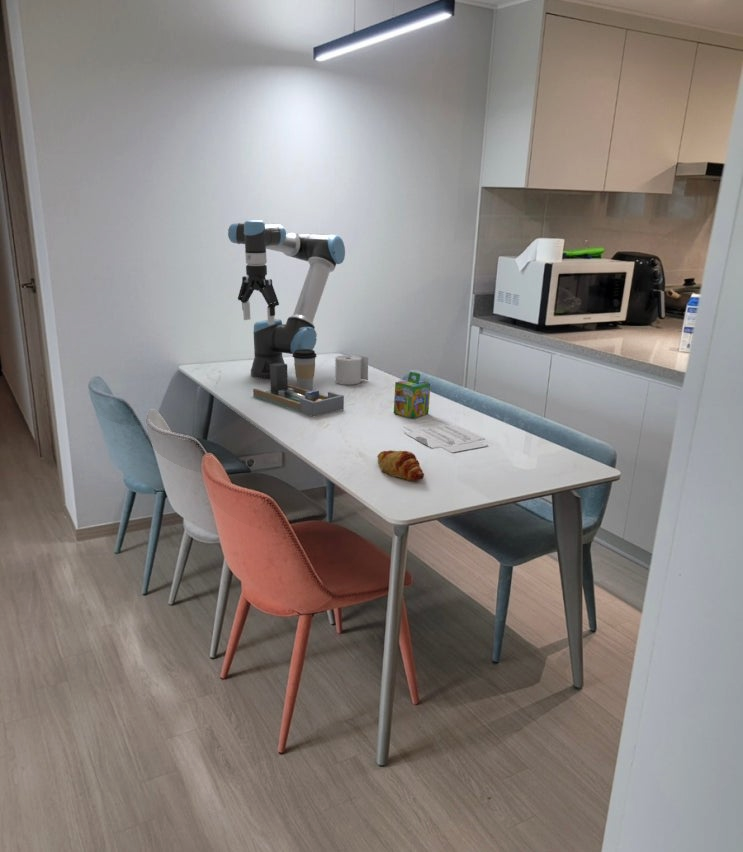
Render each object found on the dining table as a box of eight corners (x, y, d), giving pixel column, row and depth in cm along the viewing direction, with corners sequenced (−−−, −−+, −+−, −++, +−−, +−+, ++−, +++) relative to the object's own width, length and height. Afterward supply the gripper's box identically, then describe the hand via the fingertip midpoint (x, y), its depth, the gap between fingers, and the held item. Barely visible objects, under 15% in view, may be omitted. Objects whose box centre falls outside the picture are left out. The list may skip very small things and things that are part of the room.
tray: (445, 422, 244) (445, 412, 243) (496, 450, 222) (497, 438, 220) (394, 430, 235) (394, 420, 234) (442, 460, 212) (443, 449, 211)
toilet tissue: (329, 381, 293) (330, 357, 290) (351, 376, 300) (352, 353, 297) (346, 386, 285) (347, 361, 282) (368, 381, 293) (369, 357, 290)
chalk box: (392, 413, 251) (394, 372, 246) (409, 408, 257) (411, 368, 252) (413, 419, 245) (414, 377, 240) (429, 414, 251) (431, 373, 246)
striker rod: (281, 390, 271) (280, 362, 268) (319, 403, 256) (319, 373, 253) (270, 393, 268) (269, 364, 264) (308, 405, 253) (308, 375, 250)
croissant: (370, 473, 206) (360, 452, 202) (396, 452, 209) (386, 431, 205) (414, 497, 189) (403, 475, 185) (441, 474, 192) (431, 452, 188)
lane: (282, 389, 278) (282, 381, 277) (330, 405, 259) (330, 395, 258) (253, 396, 268) (252, 387, 267) (301, 412, 250) (300, 402, 249)
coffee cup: (318, 386, 285) (318, 349, 280) (314, 392, 276) (314, 354, 271) (295, 384, 285) (294, 348, 281) (290, 391, 277) (290, 353, 272)
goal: (329, 404, 260) (329, 391, 258) (343, 409, 255) (343, 395, 253) (300, 412, 250) (299, 398, 248) (314, 416, 245) (313, 402, 243)
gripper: (226, 262, 264) (229, 319, 271) (271, 268, 249) (274, 328, 256) (241, 260, 270) (244, 316, 277) (287, 266, 255) (289, 324, 262)
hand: (259, 322), depth 267 cm, fingers open, 13 cm apart
